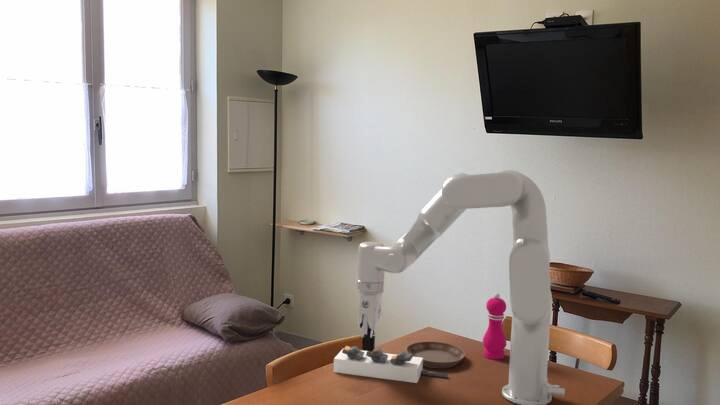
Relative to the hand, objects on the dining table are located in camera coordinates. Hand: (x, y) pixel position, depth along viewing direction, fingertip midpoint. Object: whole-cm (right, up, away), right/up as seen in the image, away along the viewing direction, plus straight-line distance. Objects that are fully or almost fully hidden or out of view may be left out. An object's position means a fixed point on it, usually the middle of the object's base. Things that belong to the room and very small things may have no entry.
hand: (368, 349), depth 173 cm
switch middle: (+2, -3, 0) cm, 4 cm away
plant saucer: (+20, -7, +13) cm, 25 cm away
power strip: (+7, -7, +1) cm, 10 cm away
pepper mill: (+39, -6, +17) cm, 43 cm away
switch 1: (-5, -2, +1) cm, 5 cm away
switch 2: (+10, -3, -2) cm, 10 cm away
